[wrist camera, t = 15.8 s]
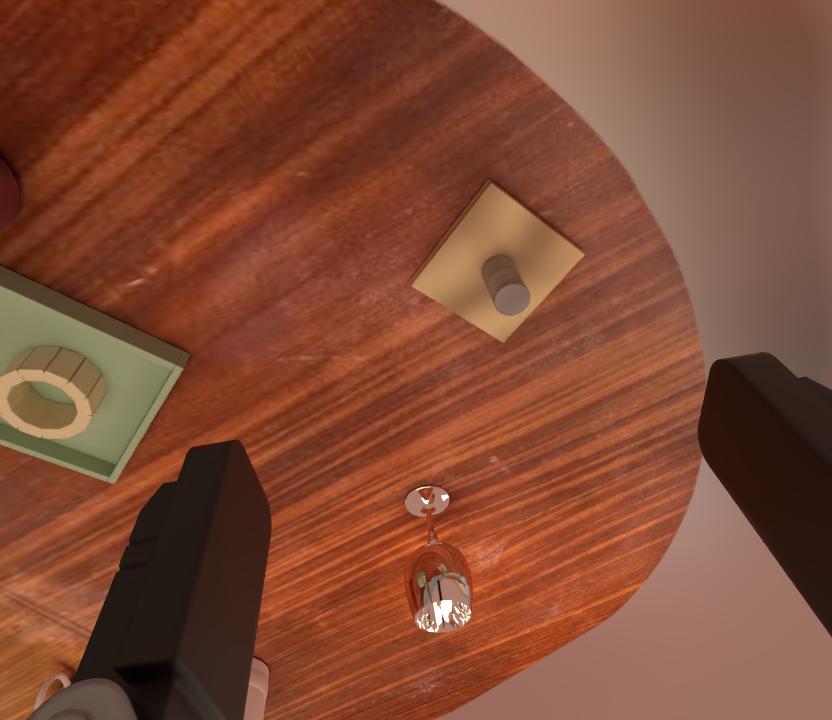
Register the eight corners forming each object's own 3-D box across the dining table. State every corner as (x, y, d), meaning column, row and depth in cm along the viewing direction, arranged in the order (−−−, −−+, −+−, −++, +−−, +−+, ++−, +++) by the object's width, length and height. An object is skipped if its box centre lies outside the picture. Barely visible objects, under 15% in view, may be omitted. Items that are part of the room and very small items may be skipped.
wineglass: (464, 486, 54) (489, 600, 44) (444, 524, 57) (462, 639, 47) (408, 476, 52) (421, 591, 42) (390, 516, 55) (398, 632, 45)
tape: (2, 391, 42) (-19, 417, 40) (27, 331, 40) (6, 354, 37) (89, 424, 45) (74, 450, 42) (118, 370, 42) (103, 394, 40)
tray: (-65, 399, 43) (-81, 416, 41) (-16, 257, 37) (-33, 270, 35) (122, 467, 48) (114, 484, 47) (190, 353, 42) (183, 368, 41)
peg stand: (409, 279, 41) (416, 317, 36) (488, 178, 37) (506, 206, 32) (500, 336, 44) (517, 377, 40) (580, 248, 40) (609, 282, 36)
